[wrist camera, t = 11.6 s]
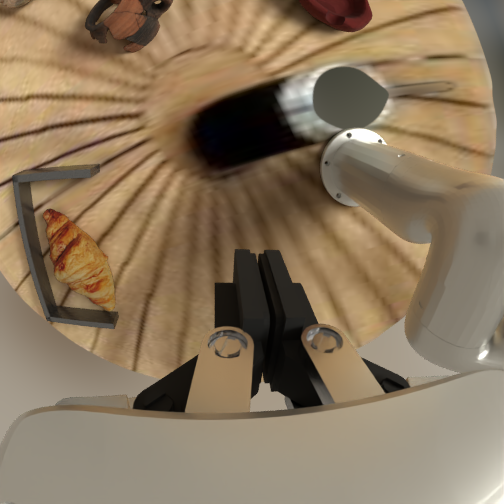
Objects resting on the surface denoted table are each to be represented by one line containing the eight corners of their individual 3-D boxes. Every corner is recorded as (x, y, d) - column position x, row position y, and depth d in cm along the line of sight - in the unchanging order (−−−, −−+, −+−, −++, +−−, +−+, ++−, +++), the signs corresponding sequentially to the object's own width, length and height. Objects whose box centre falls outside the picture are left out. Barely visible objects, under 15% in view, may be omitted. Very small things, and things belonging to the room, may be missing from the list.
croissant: (131, 287, 51) (139, 304, 45) (91, 316, 48) (95, 338, 42) (70, 191, 41) (67, 194, 34) (26, 225, 38) (16, 234, 31)
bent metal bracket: (99, 164, 37) (90, 169, 34) (118, 316, 50) (114, 329, 47) (23, 170, 35) (12, 175, 32) (53, 310, 48) (47, 320, 44)
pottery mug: (118, 68, 31) (78, 48, 23) (115, 29, 31) (82, 8, 23) (190, 25, 28) (158, -8, 20) (180, -10, 27) (152, -40, 19)
